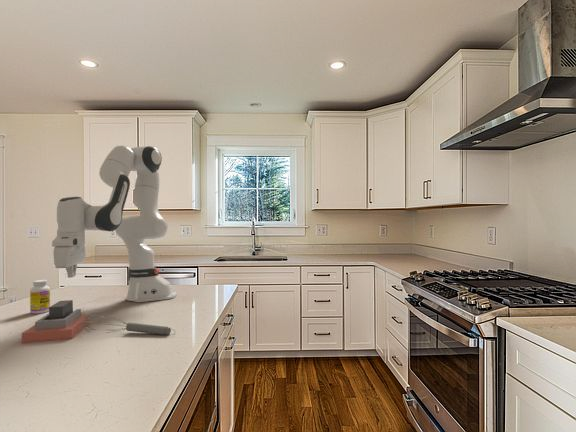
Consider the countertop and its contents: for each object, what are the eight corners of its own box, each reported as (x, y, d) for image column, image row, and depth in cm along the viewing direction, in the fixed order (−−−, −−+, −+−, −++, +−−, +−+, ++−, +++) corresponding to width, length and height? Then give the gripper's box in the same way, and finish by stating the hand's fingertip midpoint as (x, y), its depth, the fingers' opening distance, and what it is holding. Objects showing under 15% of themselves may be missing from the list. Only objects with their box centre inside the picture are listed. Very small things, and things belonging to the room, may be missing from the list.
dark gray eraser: (72, 316, 124) (72, 300, 124) (62, 324, 115) (62, 306, 115) (60, 317, 123) (60, 300, 123) (49, 325, 114) (49, 307, 114)
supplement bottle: (39, 314, 138) (39, 282, 138) (26, 313, 139) (25, 282, 139) (54, 310, 145) (53, 279, 145) (41, 309, 146) (40, 279, 146)
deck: (88, 323, 125) (88, 308, 125) (72, 338, 110) (71, 321, 110) (45, 326, 122) (45, 311, 122) (21, 342, 107) (21, 325, 106)
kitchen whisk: (170, 338, 109) (170, 319, 109) (76, 335, 114) (76, 316, 115) (180, 332, 115) (179, 313, 115) (90, 329, 121) (89, 311, 121)
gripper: (72, 238, 138) (72, 273, 138) (49, 242, 118) (50, 282, 118) (89, 238, 139) (90, 272, 139) (70, 241, 119) (70, 281, 119)
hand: (71, 276), depth 128 cm, fingers closed
